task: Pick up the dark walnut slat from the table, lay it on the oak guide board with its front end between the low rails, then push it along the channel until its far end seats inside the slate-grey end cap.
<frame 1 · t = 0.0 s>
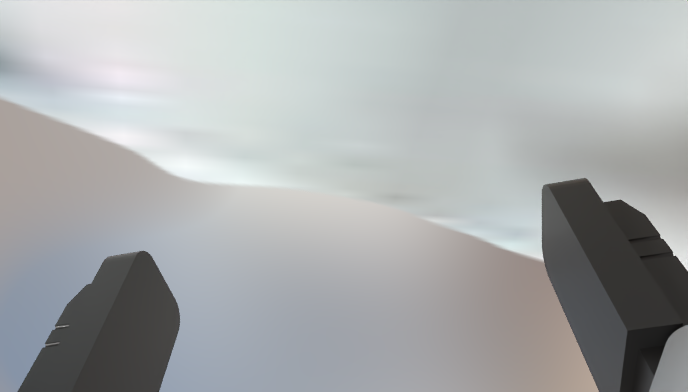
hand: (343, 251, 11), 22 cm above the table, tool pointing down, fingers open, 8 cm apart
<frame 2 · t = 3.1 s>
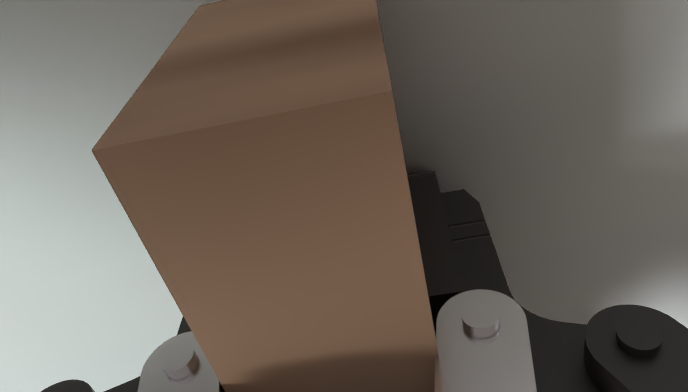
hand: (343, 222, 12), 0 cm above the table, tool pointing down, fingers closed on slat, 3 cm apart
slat: (344, 215, 12), on the table, touching gripper
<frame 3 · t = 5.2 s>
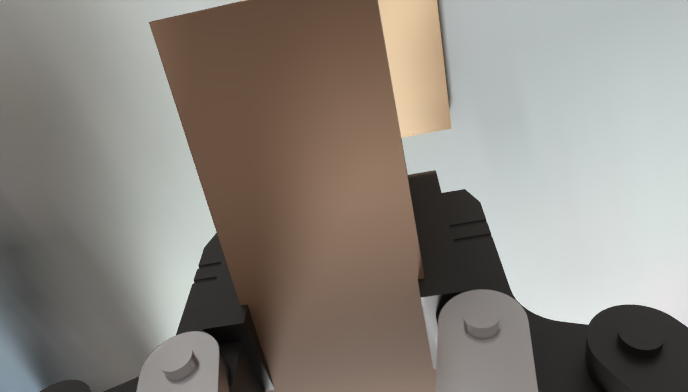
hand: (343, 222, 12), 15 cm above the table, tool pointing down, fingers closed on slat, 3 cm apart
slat: (349, 199, 13), point 13 cm above the table, tilted 13°, touching gripper
when the fingers open (3 cm above the table, at t = 7.3 s): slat moves 1 cm, resting on guide board.
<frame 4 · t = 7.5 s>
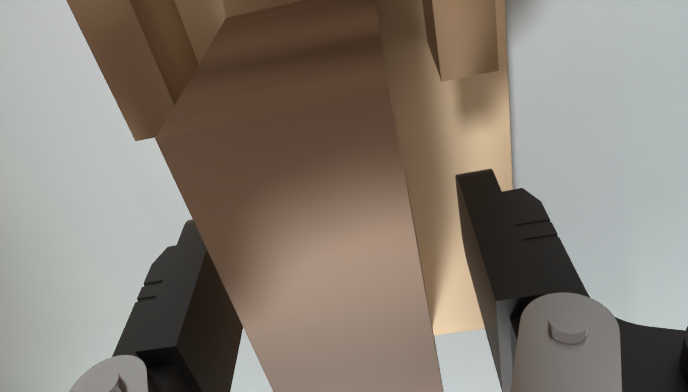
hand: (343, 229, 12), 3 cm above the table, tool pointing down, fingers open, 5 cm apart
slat: (349, 202, 14), point 1 cm above the table, touching guide board
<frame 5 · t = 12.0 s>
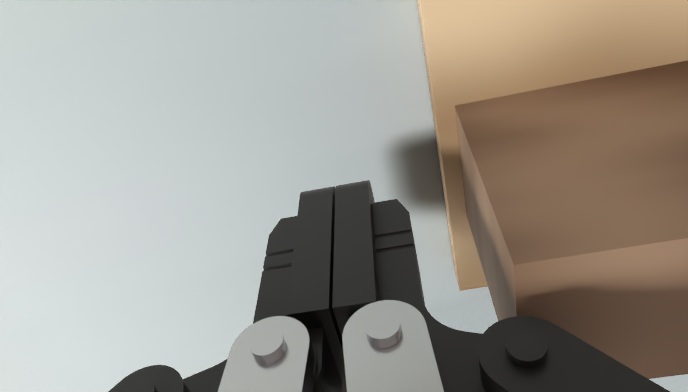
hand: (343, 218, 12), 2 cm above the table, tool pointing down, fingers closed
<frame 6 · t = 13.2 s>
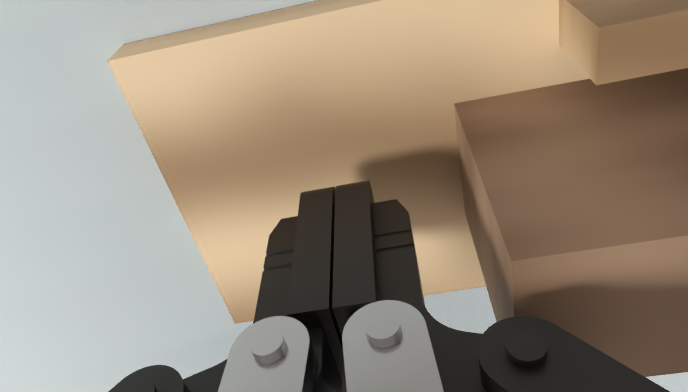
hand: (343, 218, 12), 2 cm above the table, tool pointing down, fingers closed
guide board: (632, 110, 13), on the table
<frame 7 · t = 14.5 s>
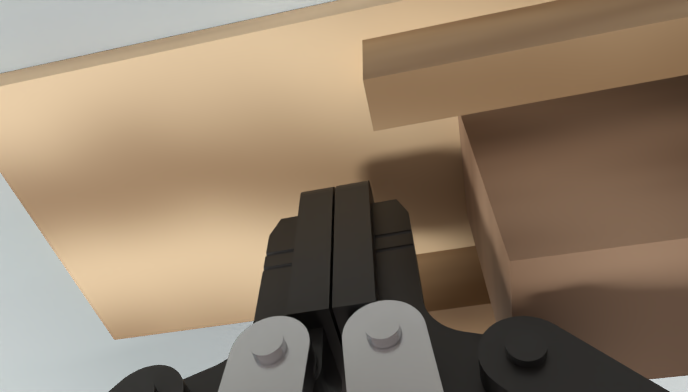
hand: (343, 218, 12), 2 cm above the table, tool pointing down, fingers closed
guide board: (469, 143, 13), on the table
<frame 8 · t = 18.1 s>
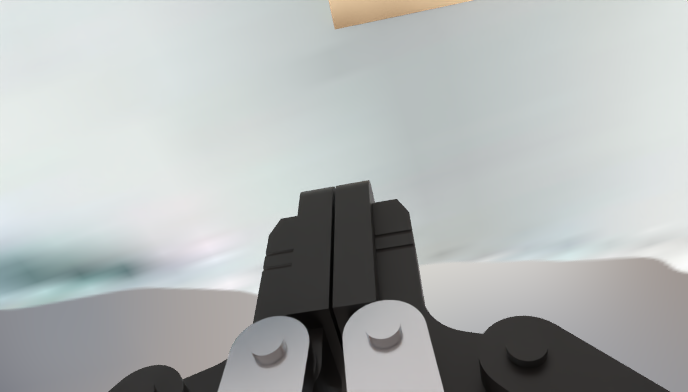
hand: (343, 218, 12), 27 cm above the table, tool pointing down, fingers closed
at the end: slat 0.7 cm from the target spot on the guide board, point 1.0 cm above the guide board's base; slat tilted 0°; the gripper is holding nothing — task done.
